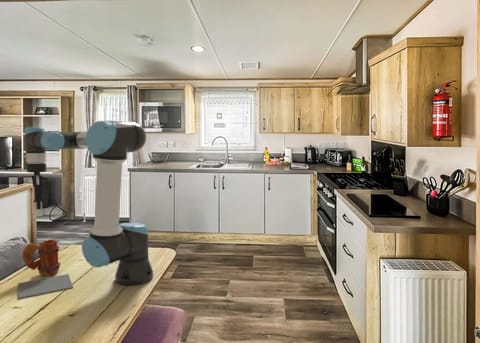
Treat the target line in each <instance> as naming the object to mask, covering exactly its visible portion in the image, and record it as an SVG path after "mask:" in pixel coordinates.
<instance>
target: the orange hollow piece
mask: <svg viewBox="0 0 480 343" xmlns="http://www.w3.org/2000/svg"><path fill="white" fill-rule="evenodd" d="M59 251H60V246H59V245H58V241H57V239H48V240H42V241H41V242H40V243H39V244H35V243H32V242H31V243H28V244H27V245H26V246H25V247H24V249H23V252H22V260H23V262H24V265H26V267H27V268H29V269H31V270H32V271H33V270H34V271H35V270H36V269H37V270H38V274H39V275H40V276H41V275H42V276H47V277H48V276H54V275H56V274H57V273H59V270H60V267H61V266H60V265H61V262H59ZM35 253H37V254H39V255H38V256H39V259H37V260H35V261H34V260H33V257H32V255H34V254H35Z"/></svg>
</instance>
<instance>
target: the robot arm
mask: <svg viewBox="0 0 480 343" xmlns="http://www.w3.org/2000/svg"><path fill="white" fill-rule="evenodd" d="M146 133H147V132H146V131H145V129H144V127H142V126H141V125H140V124H139V123H136V122H134V121H122V120H121V121H118V120H98V121H95V122H93V123H92V124H91V125H90V126H89V128H88V130H86V131H45V128H44V127H43V126H41V127H40V126H38V127H37V126H27V127H25V128H24V134H23V137H24V146H25V155H23V157H24V158H25V161H26V165H25V166H26V167H25V169H26V172H27V173H30V174H31V173H33V175H31V181H32V187H33V194H34V195H33V196H34V197H33V198H34V200H32V203H34V214H35V215H34V216H35V218H38V217H43V201H44V199H43V198H42V196H43V194H42V187H43V175H41V173H45V172H47V163H46V162H47V152H46V150H47V151H57V150H84V149H87V150H88V152H90V153H91V154H92V158H93V160H94V161H96V177H95V178H96V179H95V202H94V224H93V226H92V227H90V229H89V237H86V238H85V239H84V240H83V241H82V243H81V251H82V255H83V258H84V259H85V261H86V262H87V263H88V264H89V265H90V266H91V267H94V268H103V267H107V266H109V265H111V264H113V263H115V262H116V263H117V262H118V264H117V267H116V271H115V276H114V279H115V280H114V281H115V283H117V284H119V285H121V286H122V285H123V286H137V285H143V284H145V283H148V282H150V281H151V280H152V279H153V278H154V270H153V268H152V265H151V262H150V259H149V232H148V229H149V228H148V226H147V225H146V224H144V223H139V222H123V223H120V209H121V208H120V206H121V194H122V193H121V191H122V190H121V189H122V175H123V174H122V173H123V172H122V171H123V164H124V162H126V161H127V159H128V153H134V152H137V151H140V150H141V149H143V148H144V146H145V144H146V142H147V134H146Z"/></svg>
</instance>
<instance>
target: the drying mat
mask: <svg viewBox="0 0 480 343" xmlns="http://www.w3.org/2000/svg"><path fill="white" fill-rule="evenodd" d="M17 285H18V287H17V289H18V300H20V299H21V300H22V299H25V298H32V297H37V296H41V295H46V294H51V293H55V292H60V291H66V290H70V289H73V288H74V286H73V283H72V281H71V278H70V275H69V273H66V274H60V275H56V276H50V277H45V278H40V279H34V280H29V281H23V282H18V284H17Z"/></svg>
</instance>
